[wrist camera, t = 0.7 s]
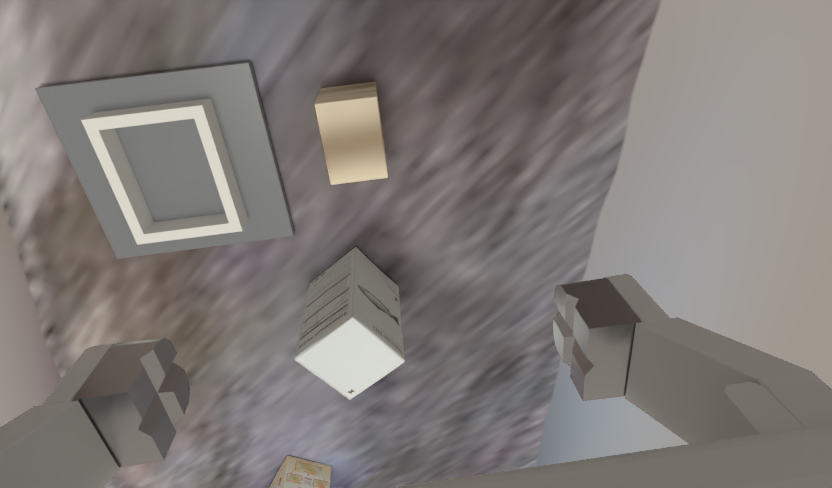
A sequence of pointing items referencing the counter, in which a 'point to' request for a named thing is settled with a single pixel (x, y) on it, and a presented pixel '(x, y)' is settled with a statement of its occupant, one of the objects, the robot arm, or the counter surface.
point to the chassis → (173, 157)
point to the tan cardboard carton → (351, 132)
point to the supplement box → (351, 325)
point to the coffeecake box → (302, 474)
